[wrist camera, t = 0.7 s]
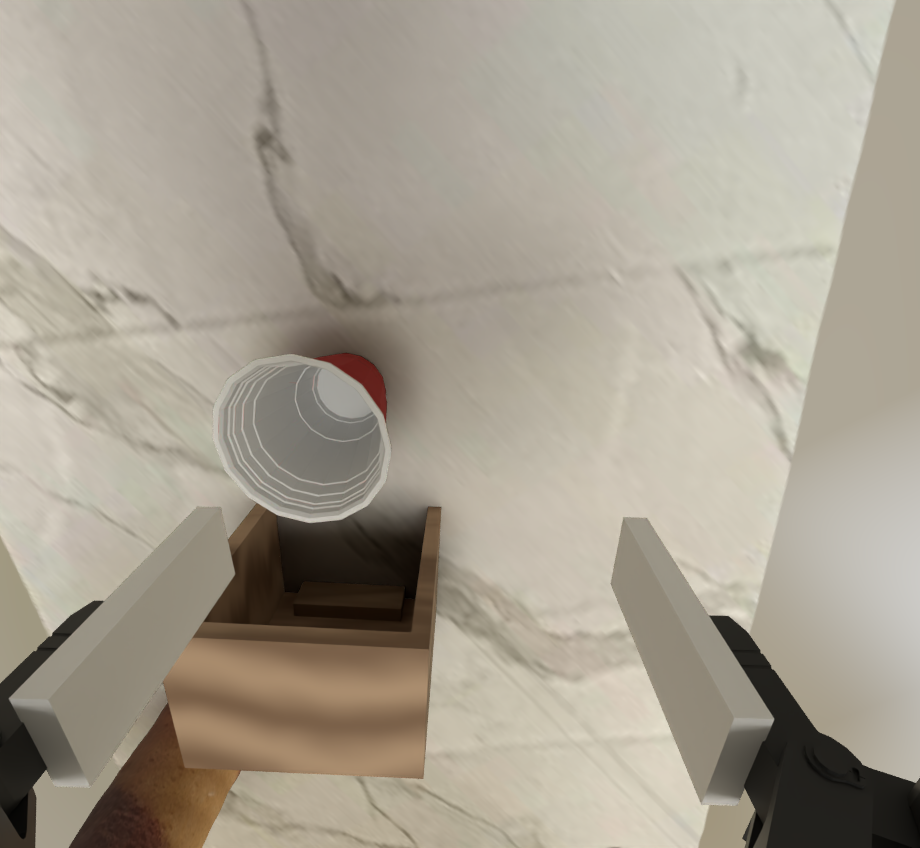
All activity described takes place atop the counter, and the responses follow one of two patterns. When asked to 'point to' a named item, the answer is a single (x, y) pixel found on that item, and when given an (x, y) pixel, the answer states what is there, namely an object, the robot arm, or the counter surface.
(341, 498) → the plastic cup
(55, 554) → the counter surface
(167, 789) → the wafer roll
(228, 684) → the open wooden crate
